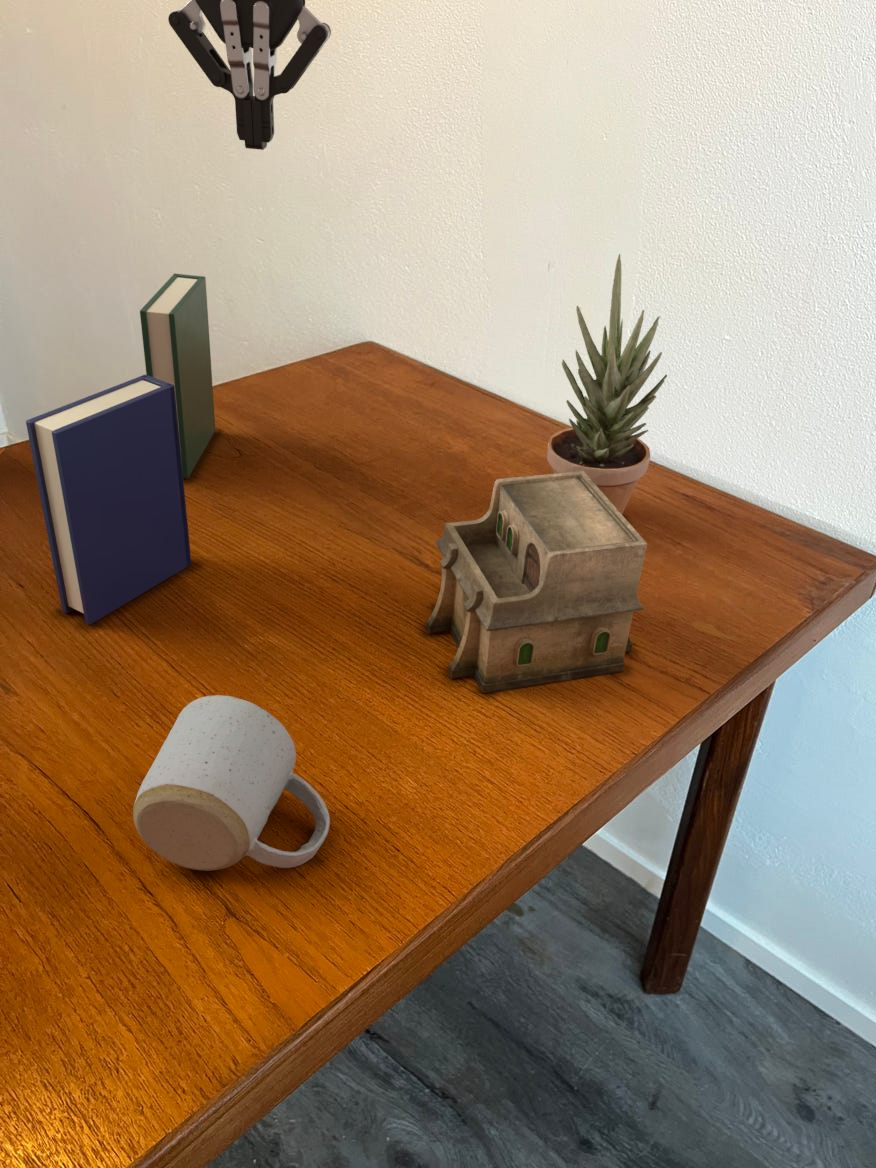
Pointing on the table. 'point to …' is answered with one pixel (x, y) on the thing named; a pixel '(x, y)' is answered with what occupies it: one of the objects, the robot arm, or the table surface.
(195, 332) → the green book
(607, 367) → the potted plant
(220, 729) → the ceramic mug
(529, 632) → the miniature house
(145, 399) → the navy book
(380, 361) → the table surface
